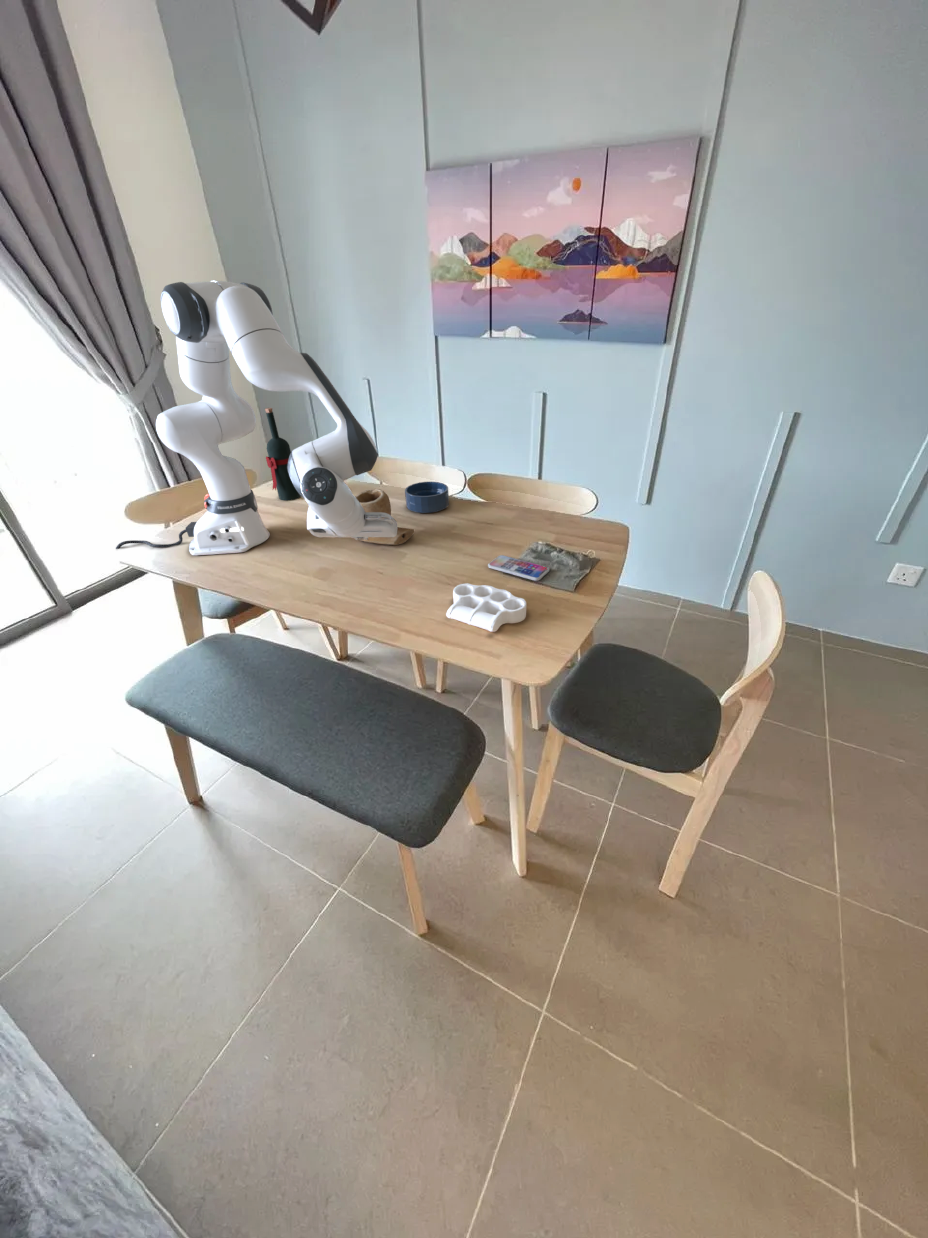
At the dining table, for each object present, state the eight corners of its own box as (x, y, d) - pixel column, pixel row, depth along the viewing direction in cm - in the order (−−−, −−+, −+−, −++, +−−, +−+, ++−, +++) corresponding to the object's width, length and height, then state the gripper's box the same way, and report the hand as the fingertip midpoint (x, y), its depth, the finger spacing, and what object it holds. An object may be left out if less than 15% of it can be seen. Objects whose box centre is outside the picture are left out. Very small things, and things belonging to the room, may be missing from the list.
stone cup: (350, 546, 142) (341, 496, 134) (372, 529, 151) (364, 482, 143) (396, 553, 137) (390, 502, 129) (416, 536, 146) (411, 487, 138)
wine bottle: (269, 500, 175) (244, 411, 158) (290, 491, 182) (269, 404, 165) (285, 504, 172) (261, 413, 155) (306, 494, 179) (286, 406, 162)
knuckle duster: (434, 617, 111) (468, 587, 121) (506, 640, 103) (535, 606, 113) (433, 605, 109) (467, 575, 119) (506, 627, 101) (536, 594, 111)
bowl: (411, 517, 158) (409, 499, 155) (403, 501, 170) (401, 484, 166) (453, 510, 161) (452, 493, 158) (443, 496, 173) (442, 479, 169)
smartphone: (500, 553, 133) (551, 567, 126) (500, 557, 133) (550, 570, 126) (486, 564, 128) (538, 579, 121) (486, 568, 128) (538, 582, 121)
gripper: (391, 502, 109) (404, 525, 123) (302, 502, 111) (324, 525, 124) (390, 529, 108) (402, 549, 122) (299, 529, 110) (322, 549, 123)
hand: (362, 537), depth 123 cm, fingers closed
